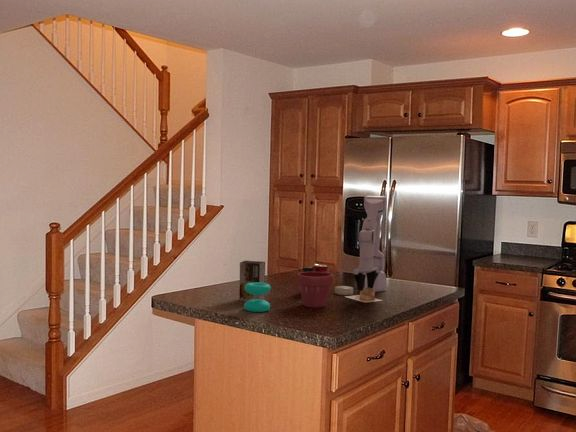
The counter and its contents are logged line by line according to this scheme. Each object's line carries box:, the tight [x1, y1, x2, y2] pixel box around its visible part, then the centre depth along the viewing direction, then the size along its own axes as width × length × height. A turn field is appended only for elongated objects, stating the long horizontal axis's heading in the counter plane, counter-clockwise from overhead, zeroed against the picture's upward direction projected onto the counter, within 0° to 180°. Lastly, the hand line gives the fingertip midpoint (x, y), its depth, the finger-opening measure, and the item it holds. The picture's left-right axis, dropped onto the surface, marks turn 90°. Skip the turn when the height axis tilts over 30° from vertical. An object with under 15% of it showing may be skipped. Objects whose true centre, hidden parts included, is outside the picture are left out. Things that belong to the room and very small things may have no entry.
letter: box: [344, 294, 383, 304], centre depth 248 cm, size 10×14×1 cm
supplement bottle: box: [299, 266, 314, 295], centre depth 255 cm, size 7×7×12 cm
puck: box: [334, 285, 354, 296], centre depth 258 cm, size 8×8×3 cm
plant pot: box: [297, 271, 334, 308], centre depth 232 cm, size 14×14×13 cm
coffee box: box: [238, 260, 266, 302], centre depth 237 cm, size 9×6×16 cm
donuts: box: [243, 282, 272, 313], centre depth 220 cm, size 10×10×10 cm
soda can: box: [311, 263, 329, 273], centre depth 262 cm, size 7×7×12 cm
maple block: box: [359, 287, 376, 300], centre depth 247 cm, size 4×4×4 cm
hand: (365, 289), depth 247 cm, fingers open, 6 cm apart
